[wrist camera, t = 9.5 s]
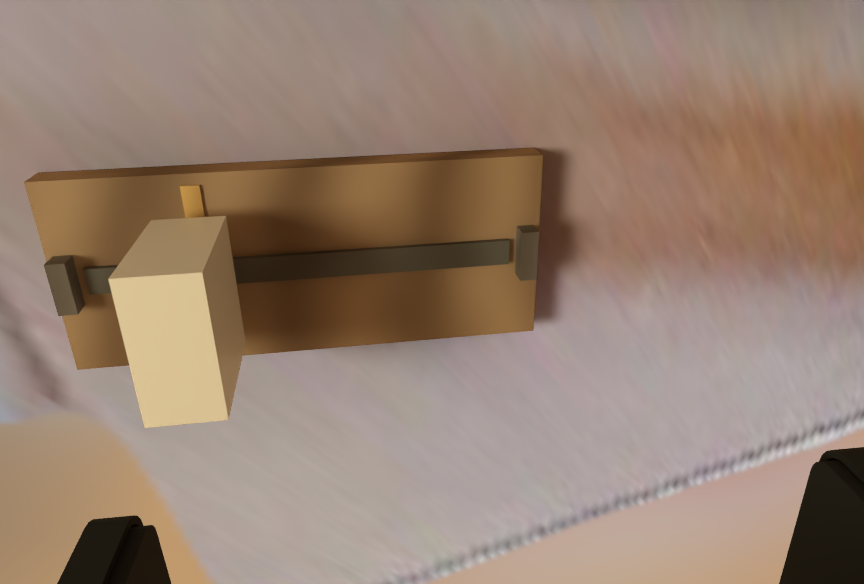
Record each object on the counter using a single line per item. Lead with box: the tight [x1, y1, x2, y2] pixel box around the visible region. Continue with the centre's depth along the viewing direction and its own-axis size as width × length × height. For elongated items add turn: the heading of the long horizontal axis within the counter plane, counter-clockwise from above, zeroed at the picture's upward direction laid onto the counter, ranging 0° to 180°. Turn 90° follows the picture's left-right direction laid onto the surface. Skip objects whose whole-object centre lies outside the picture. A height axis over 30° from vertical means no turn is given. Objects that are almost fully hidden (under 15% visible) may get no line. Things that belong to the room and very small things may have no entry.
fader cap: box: [108, 216, 246, 428], centre depth 26 cm, size 3×6×7 cm, turn 1°
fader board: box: [24, 148, 543, 370], centre depth 31 cm, size 22×9×2 cm, turn 91°
